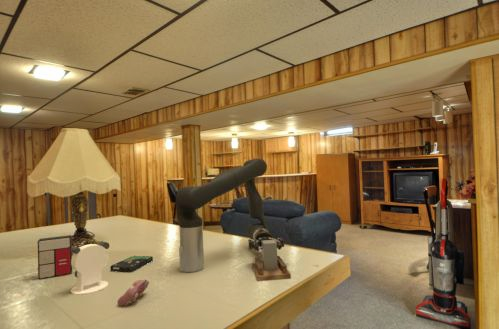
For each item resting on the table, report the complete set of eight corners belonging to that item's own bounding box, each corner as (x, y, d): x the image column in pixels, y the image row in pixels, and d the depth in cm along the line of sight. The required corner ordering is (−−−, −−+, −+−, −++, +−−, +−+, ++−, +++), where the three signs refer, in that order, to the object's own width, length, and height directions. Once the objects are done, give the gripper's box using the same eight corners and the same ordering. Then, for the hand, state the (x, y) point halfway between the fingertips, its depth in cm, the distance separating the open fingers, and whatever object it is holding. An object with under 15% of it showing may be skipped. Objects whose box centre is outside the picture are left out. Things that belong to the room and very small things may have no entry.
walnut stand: (257, 281, 100) (256, 269, 100) (252, 267, 115) (251, 256, 115) (290, 278, 102) (290, 266, 102) (281, 264, 117) (281, 254, 117)
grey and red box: (37, 280, 110) (37, 240, 110) (40, 276, 113) (39, 238, 114) (71, 274, 115) (70, 236, 115) (72, 271, 118) (71, 234, 119)
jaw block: (264, 271, 106) (263, 243, 106) (262, 266, 111) (261, 240, 111) (277, 270, 106) (276, 242, 107) (275, 265, 111) (274, 239, 111)
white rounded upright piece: (101, 278, 109) (100, 239, 109) (115, 285, 101) (114, 242, 102) (65, 289, 99) (64, 246, 100) (78, 297, 92) (77, 250, 92)
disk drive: (131, 274, 114) (153, 262, 128) (131, 267, 114) (153, 255, 129) (110, 272, 117) (133, 261, 131) (109, 265, 117) (133, 254, 131)
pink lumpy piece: (127, 312, 84) (136, 291, 84) (115, 304, 85) (124, 284, 85) (145, 297, 94) (153, 278, 94) (133, 291, 95) (142, 272, 94)
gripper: (245, 230, 125) (249, 239, 109) (278, 228, 127) (286, 236, 110) (246, 247, 125) (250, 259, 109) (278, 245, 126) (287, 256, 110)
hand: (268, 247), depth 110 cm, fingers open, 8 cm apart
